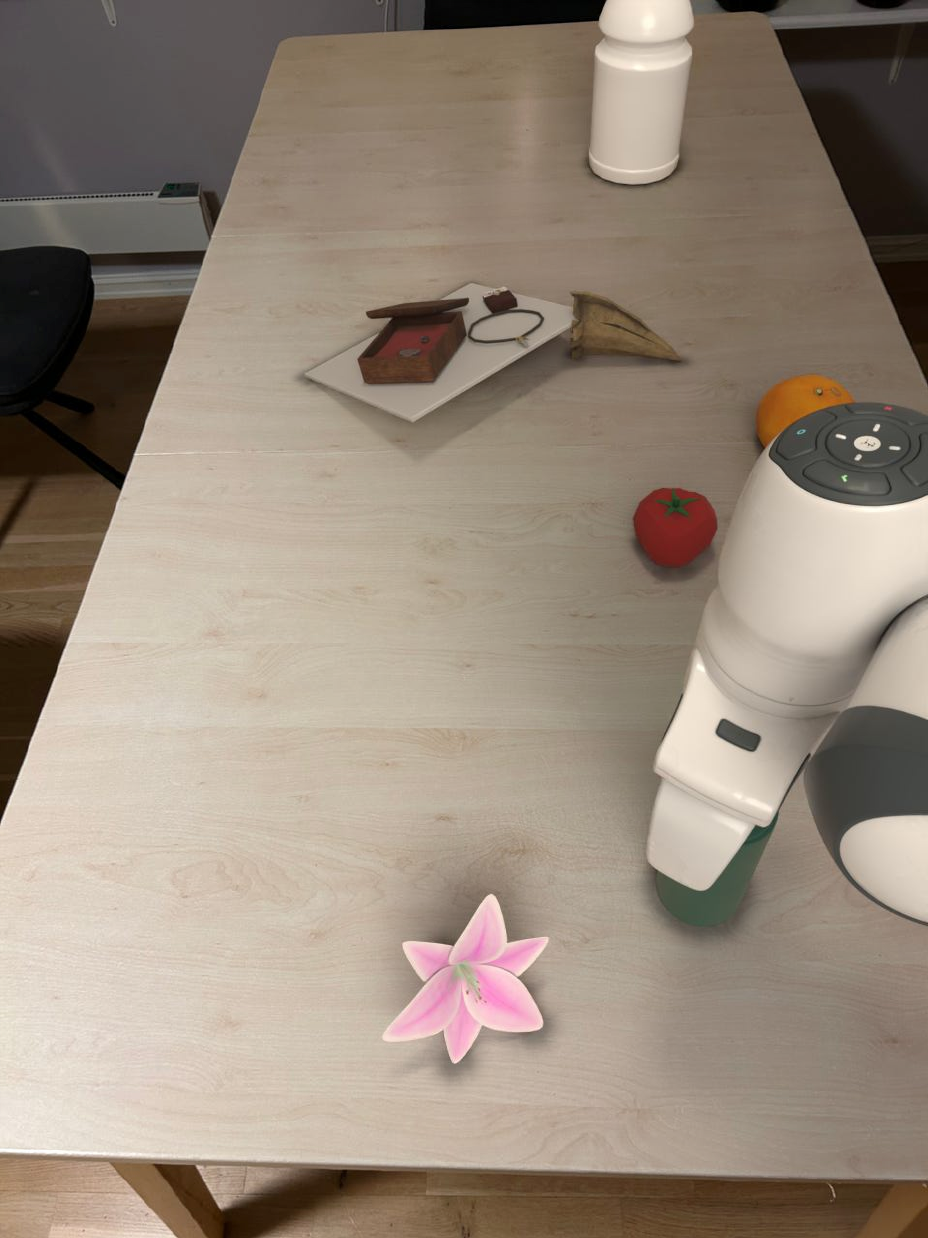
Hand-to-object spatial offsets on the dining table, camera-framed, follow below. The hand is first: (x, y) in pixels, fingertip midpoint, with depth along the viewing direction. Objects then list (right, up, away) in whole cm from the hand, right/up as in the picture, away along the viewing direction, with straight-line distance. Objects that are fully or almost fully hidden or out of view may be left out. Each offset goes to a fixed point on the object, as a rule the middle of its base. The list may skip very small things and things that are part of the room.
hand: (725, 787), depth 61 cm
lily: (-17, -17, +7) cm, 25 cm away
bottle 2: (+1, -10, +12) cm, 16 cm away
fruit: (+20, +30, +43) cm, 56 cm away
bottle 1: (+9, +82, +85) cm, 119 cm away
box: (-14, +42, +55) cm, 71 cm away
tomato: (+4, +18, +34) cm, 39 cm away
